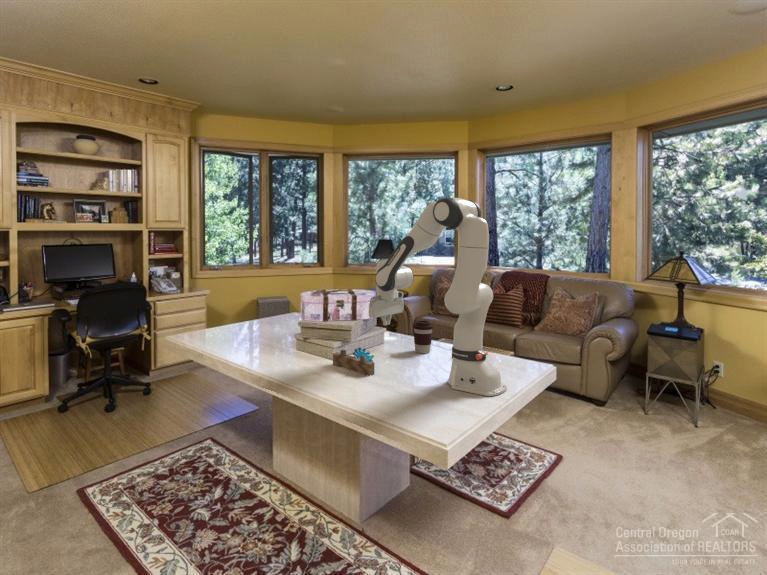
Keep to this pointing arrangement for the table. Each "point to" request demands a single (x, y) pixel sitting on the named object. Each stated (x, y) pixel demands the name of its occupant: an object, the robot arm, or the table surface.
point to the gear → (368, 358)
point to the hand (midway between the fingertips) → (386, 325)
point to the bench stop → (353, 363)
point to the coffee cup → (422, 336)
